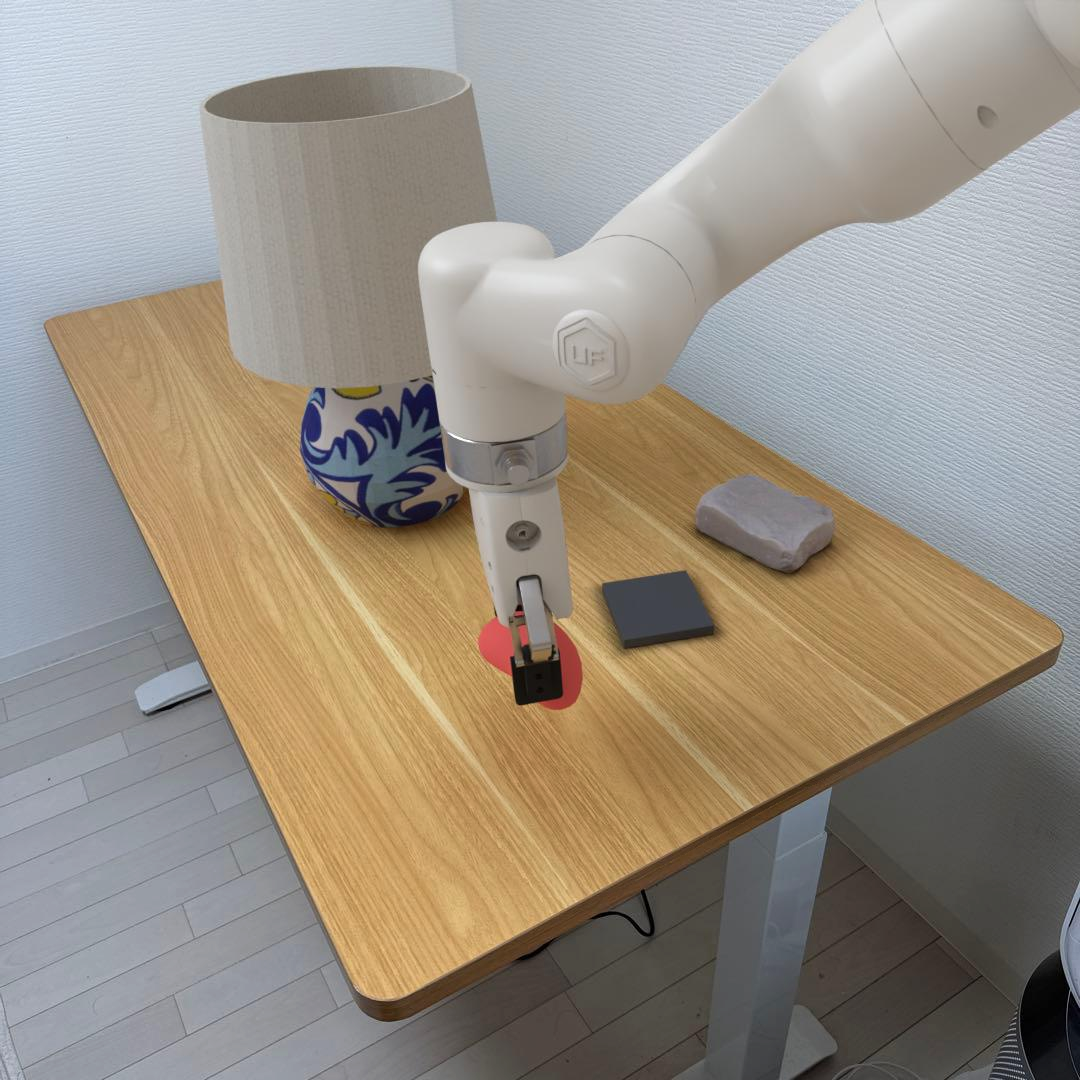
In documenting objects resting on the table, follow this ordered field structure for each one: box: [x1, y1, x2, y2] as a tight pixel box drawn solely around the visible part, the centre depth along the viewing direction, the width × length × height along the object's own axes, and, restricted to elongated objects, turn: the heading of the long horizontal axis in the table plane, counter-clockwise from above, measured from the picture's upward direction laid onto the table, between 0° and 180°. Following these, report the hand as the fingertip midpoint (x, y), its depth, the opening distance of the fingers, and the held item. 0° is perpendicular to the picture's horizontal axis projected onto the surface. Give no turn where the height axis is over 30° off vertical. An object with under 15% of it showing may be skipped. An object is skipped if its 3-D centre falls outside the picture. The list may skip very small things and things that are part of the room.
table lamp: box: [198, 64, 498, 529], centre depth 92 cm, size 27×27×40 cm
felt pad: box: [601, 570, 715, 649], centre depth 85 cm, size 8×8×1 cm
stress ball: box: [477, 611, 584, 711], centre depth 68 cm, size 5×9×6 cm
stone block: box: [694, 473, 836, 574], centre depth 94 cm, size 12×5×10 cm
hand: (527, 653), depth 68 cm, fingers closed on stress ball, 8 cm apart
